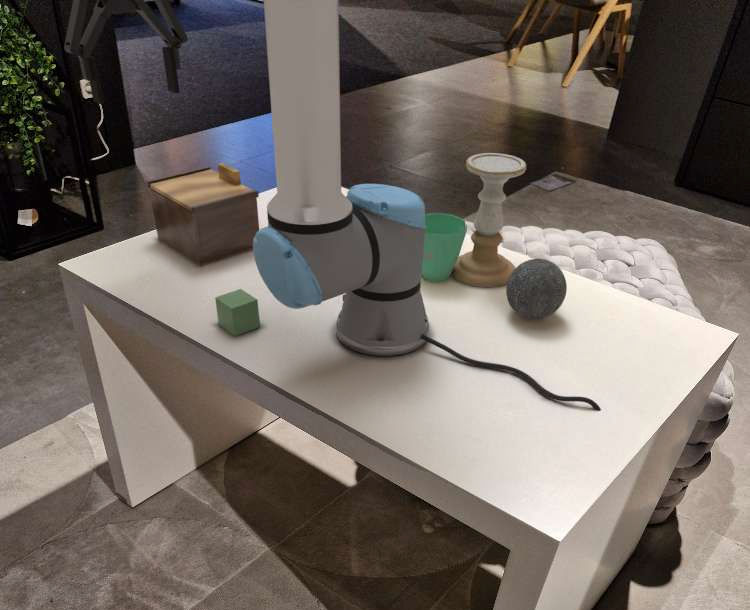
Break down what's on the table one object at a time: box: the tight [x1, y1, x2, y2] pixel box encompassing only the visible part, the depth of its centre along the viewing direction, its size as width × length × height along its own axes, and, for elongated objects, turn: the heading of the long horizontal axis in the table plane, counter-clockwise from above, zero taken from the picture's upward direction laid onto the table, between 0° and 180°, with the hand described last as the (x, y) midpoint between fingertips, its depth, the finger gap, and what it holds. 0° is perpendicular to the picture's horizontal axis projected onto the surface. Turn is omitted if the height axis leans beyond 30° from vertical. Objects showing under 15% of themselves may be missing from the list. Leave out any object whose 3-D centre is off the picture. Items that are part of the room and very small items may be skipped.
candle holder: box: [451, 152, 527, 288], centre depth 134 cm, size 12×12×20 cm
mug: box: [421, 212, 468, 283], centre depth 137 cm, size 15×10×10 cm
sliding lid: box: [150, 162, 254, 212], centre depth 140 cm, size 15×14×3 cm
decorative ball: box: [505, 258, 568, 321], centre depth 125 cm, size 10×10×10 cm
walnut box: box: [145, 165, 260, 267], centre depth 144 cm, size 18×14×11 cm
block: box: [214, 288, 261, 337], centre depth 122 cm, size 5×5×5 cm
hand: (137, 97), depth 125 cm, fingers open, 13 cm apart
